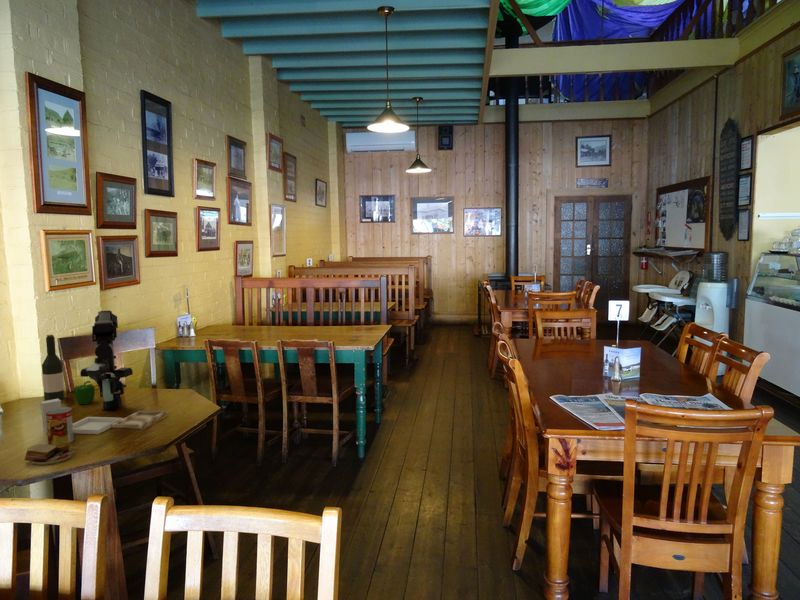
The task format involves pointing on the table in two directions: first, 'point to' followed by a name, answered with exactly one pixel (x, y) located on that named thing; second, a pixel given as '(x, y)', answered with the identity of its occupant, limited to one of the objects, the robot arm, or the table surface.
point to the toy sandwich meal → (48, 454)
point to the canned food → (59, 426)
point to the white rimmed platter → (94, 425)
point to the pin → (106, 390)
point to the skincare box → (47, 406)
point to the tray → (139, 419)
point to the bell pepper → (84, 393)
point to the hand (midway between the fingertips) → (108, 393)
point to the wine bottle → (52, 373)
